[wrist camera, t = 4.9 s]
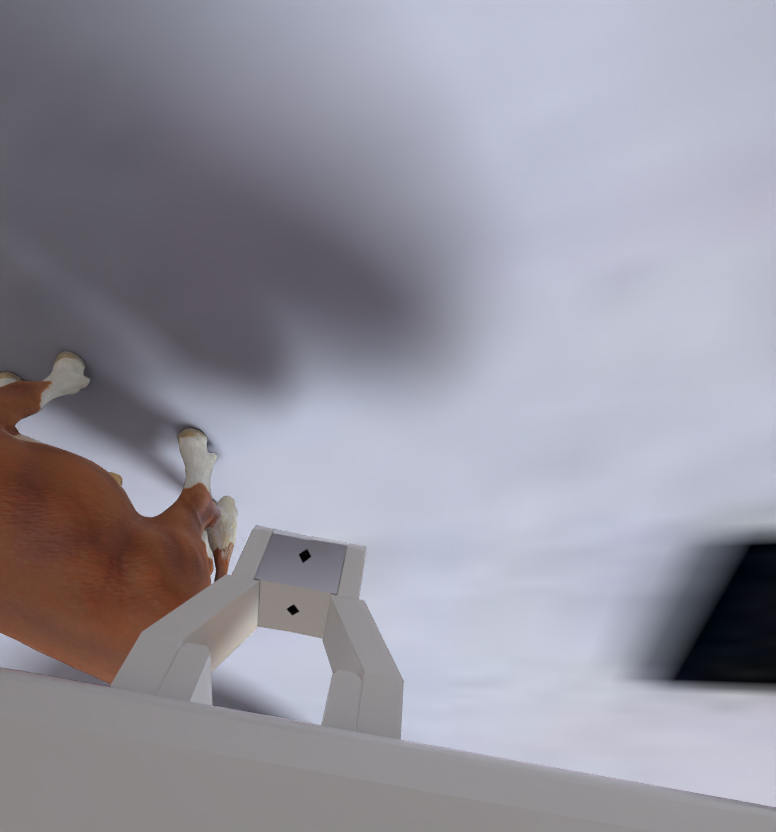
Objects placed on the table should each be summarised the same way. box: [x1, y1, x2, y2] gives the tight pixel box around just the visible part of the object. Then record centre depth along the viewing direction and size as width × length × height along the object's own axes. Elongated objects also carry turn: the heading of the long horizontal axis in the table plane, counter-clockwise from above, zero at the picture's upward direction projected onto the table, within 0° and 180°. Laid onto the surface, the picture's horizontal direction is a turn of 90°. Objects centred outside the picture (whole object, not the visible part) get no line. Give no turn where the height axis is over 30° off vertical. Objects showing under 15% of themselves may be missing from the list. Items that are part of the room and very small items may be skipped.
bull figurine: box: [0, 351, 238, 684], centre depth 12 cm, size 4×13×8 cm, turn 44°
